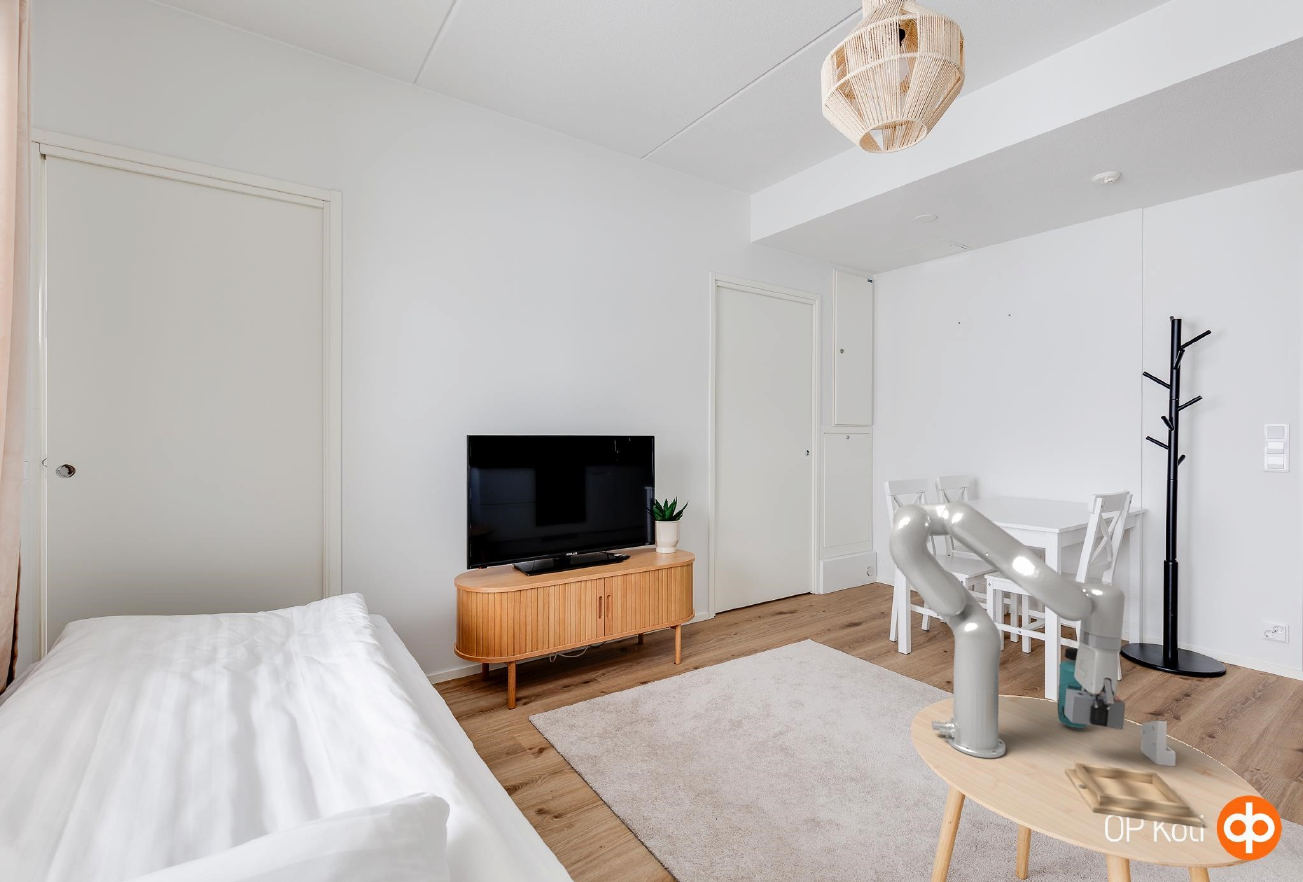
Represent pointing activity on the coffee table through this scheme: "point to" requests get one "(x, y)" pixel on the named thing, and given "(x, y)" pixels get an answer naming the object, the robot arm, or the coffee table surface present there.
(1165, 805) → the wooden tray
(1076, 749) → the coffee table surface
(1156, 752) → the white wedge bracket
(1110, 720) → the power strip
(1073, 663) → the beverage bottle
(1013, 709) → the coffee table surface
